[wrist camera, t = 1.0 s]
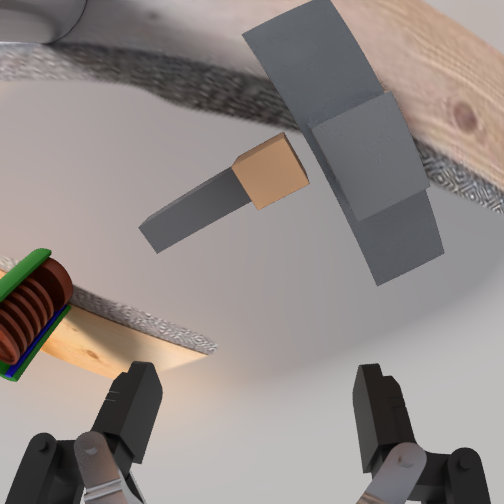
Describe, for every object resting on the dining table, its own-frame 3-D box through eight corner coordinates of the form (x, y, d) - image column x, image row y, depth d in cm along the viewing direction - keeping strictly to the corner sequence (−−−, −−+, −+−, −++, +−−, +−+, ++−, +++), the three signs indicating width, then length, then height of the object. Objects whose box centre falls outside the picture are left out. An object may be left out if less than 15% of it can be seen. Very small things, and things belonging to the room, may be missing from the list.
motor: (86, 304, 42) (12, 409, 24) (49, 312, 43) (-20, 402, 26) (51, 242, 37) (-47, 334, 20) (17, 257, 39) (-69, 338, 22)
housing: (351, 229, 33) (386, 309, 21) (255, 55, 26) (234, 24, 14) (400, 205, 31) (460, 273, 19) (311, 28, 24) (333, -21, 12)
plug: (168, 244, 36) (153, 266, 32) (146, 213, 35) (127, 231, 30) (305, 170, 31) (309, 183, 27) (283, 131, 29) (284, 138, 25)
